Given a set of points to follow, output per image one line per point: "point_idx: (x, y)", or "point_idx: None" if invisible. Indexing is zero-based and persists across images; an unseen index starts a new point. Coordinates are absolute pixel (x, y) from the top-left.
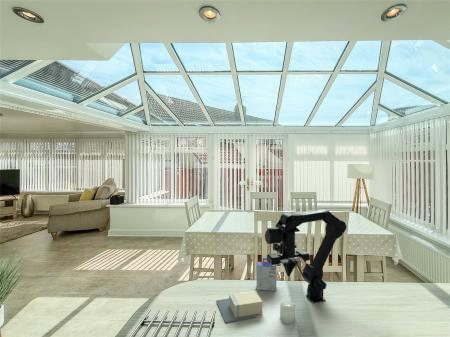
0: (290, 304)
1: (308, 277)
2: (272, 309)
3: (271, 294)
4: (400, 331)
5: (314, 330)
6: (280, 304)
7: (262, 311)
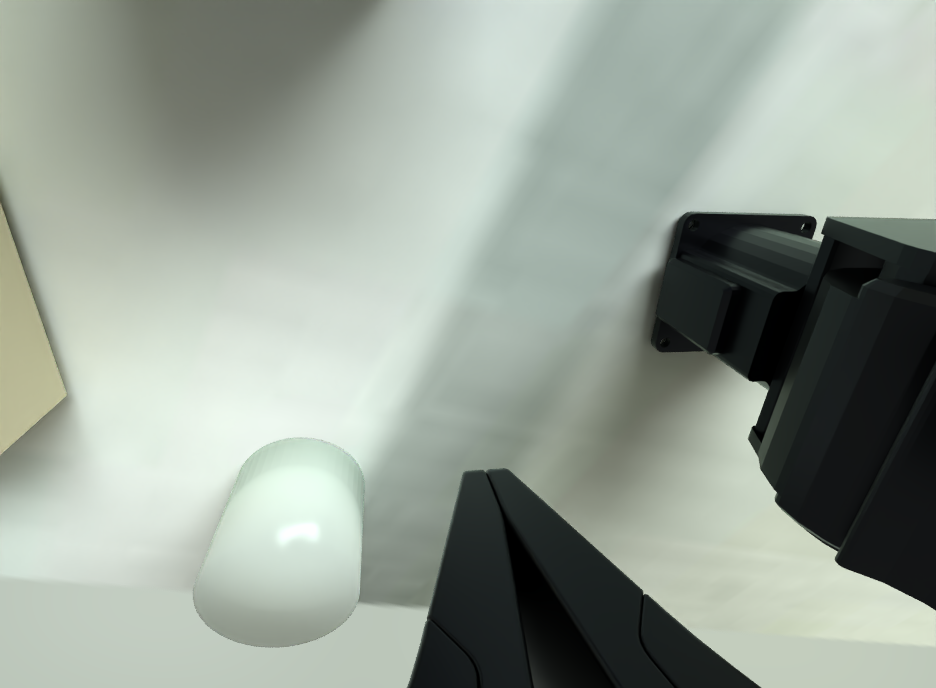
0: (315, 588)
1: (822, 474)
2: (209, 343)
3: (305, 32)
4: (823, 633)
5: (432, 595)
6: (200, 581)
7: (57, 403)
